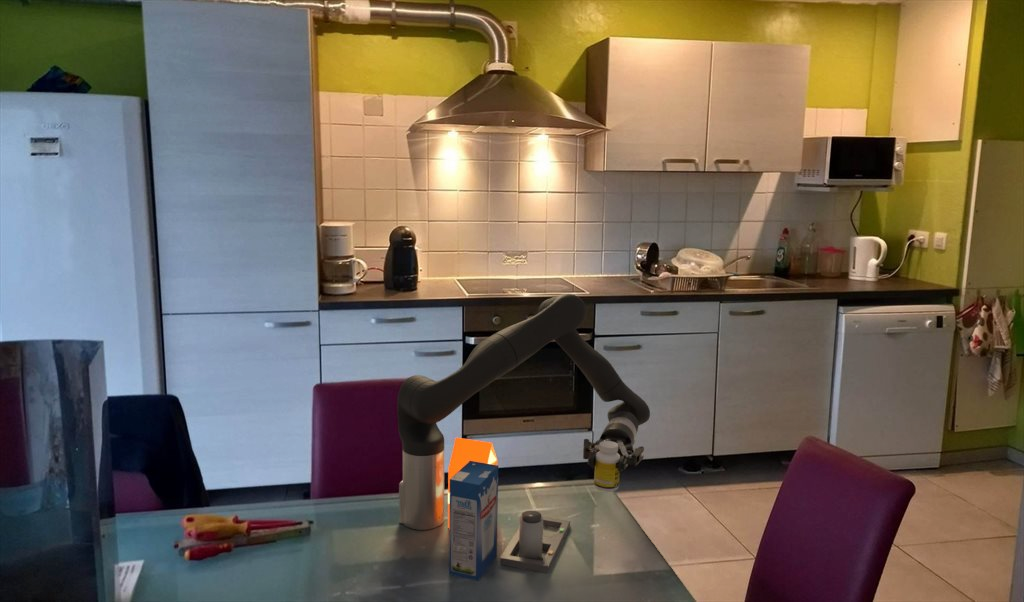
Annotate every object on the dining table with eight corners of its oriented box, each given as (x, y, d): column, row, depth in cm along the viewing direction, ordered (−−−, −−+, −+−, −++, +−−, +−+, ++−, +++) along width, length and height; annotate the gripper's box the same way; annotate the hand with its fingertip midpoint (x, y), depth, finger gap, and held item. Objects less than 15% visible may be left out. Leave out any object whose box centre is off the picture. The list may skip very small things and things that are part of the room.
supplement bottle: (618, 493, 159) (620, 450, 157) (592, 490, 160) (594, 447, 158) (619, 482, 164) (622, 440, 162) (595, 480, 165) (597, 438, 163)
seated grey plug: (516, 560, 153) (517, 518, 151) (522, 548, 158) (523, 508, 156) (538, 564, 152) (540, 522, 150) (544, 552, 156) (545, 511, 154)
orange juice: (484, 536, 163) (486, 449, 159) (447, 528, 165) (447, 443, 162) (496, 520, 170) (498, 436, 166) (460, 513, 173) (461, 431, 169)
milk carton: (478, 581, 145) (479, 484, 141) (448, 574, 147) (449, 479, 143) (496, 556, 154) (498, 465, 151) (469, 550, 156) (470, 460, 153)
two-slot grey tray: (500, 564, 151) (500, 556, 151) (526, 520, 170) (527, 512, 170) (548, 573, 148) (548, 564, 148) (569, 527, 167) (570, 519, 167)
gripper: (588, 418, 176) (573, 443, 160) (650, 426, 171) (641, 453, 156) (587, 448, 177) (571, 476, 161) (648, 456, 173) (638, 486, 157)
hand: (605, 465), depth 158 cm, fingers closed on supplement bottle, 5 cm apart
